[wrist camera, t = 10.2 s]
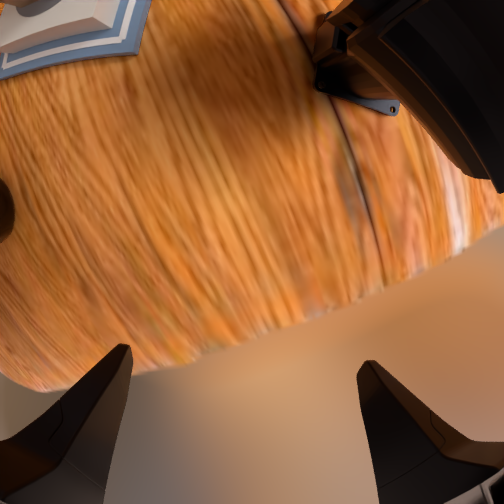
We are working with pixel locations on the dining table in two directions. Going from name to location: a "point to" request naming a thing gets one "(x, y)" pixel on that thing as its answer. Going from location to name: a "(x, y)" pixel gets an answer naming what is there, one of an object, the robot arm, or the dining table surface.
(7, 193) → the supplement bottle
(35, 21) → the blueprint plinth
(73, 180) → the dining table surface
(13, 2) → the walnut block
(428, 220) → the dining table surface
